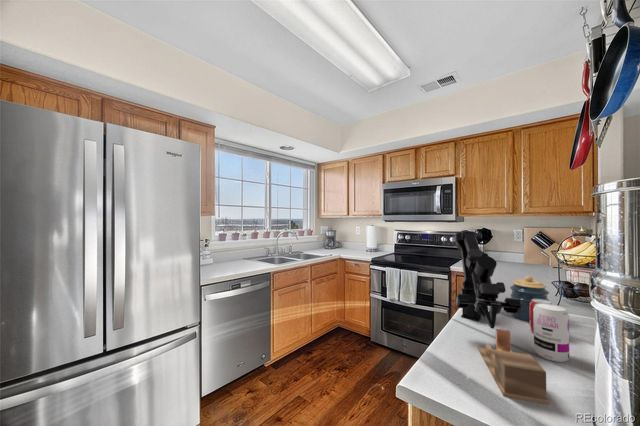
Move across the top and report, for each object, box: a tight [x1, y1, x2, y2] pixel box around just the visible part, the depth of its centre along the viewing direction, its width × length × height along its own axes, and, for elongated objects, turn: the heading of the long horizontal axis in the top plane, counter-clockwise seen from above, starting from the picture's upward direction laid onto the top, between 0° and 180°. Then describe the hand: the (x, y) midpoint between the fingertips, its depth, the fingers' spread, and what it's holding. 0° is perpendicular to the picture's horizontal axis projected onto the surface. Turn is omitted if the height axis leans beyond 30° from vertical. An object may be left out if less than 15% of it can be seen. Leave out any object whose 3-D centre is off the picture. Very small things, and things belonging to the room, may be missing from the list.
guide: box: [477, 344, 550, 405], centre depth 71 cm, size 23×9×7 cm, turn 161°
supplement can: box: [533, 303, 570, 363], centre depth 80 cm, size 8×8×15 cm
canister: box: [509, 275, 550, 322], centre depth 111 cm, size 13×13×18 cm
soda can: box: [529, 299, 553, 333], centre depth 95 cm, size 7×7×12 cm
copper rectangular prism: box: [495, 328, 511, 352], centre depth 69 cm, size 13×3×9 cm, turn 161°
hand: (492, 328), depth 83 cm, fingers closed
